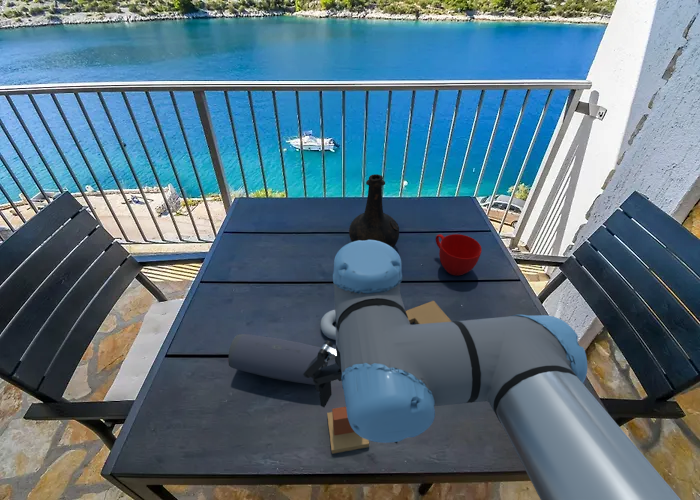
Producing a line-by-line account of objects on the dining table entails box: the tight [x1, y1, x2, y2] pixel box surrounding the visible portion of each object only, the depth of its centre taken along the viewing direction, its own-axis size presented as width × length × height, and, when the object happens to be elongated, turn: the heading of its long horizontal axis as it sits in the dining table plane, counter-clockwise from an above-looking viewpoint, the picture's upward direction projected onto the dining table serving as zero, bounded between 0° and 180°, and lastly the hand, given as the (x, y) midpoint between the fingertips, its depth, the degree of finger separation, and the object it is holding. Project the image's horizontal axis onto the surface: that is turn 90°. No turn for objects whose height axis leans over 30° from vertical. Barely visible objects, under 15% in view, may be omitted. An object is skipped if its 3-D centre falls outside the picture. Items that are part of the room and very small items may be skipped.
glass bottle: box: [348, 173, 400, 249], centre depth 119 cm, size 18×18×28 cm
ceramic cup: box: [435, 233, 482, 276], centre depth 117 cm, size 13×17×10 cm
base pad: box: [405, 300, 453, 324], centre depth 97 cm, size 16×18×2 cm
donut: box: [320, 309, 336, 341], centre depth 98 cm, size 10×4×10 cm
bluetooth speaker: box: [227, 333, 329, 386], centre depth 85 cm, size 23×9×10 cm, turn 78°
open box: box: [326, 406, 370, 455], centre depth 74 cm, size 8×8×9 cm
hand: (360, 417), depth 60 cm, fingers open, 13 cm apart
